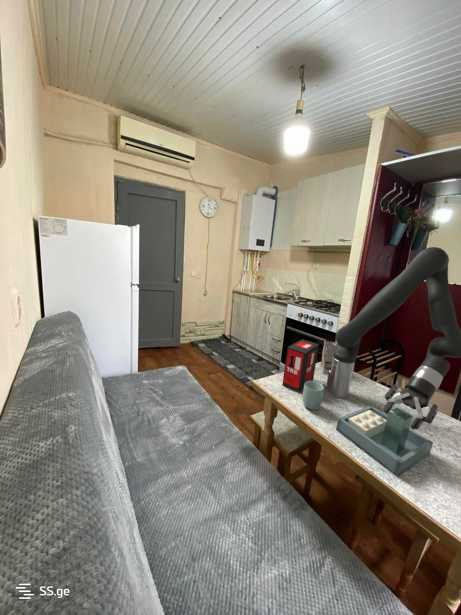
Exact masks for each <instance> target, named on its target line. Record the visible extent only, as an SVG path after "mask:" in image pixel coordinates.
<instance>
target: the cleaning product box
mask: <svg viewBox="0 0 461 615" xmlns="http://www.w3.org/2000/svg"><path fill="white" fill-rule="evenodd" d="M319 347H320V344H319V343H316V342H313V341H309V340H306V339H301V340H298V341H297V342H294V343H293V344H291V345H289V346H288V347H287V349H286V354H285V355H286V356H285V363H284V364H285V365H284V368H283V369H284V370H283V378H282V384H281V386H282V387H285V388H287V389H289V390H290V391H293V392H295V393H296V392H297V394H300V393H301V392H302V391H303V390H304V384H305V382H307V381H314V377H315V372H316V364H317V358H318V355H319V354H318V353H319Z"/></svg>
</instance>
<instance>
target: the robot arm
mask: <svg viewBox="0 0 461 615" xmlns="http://www.w3.org/2000/svg"><path fill="white" fill-rule="evenodd" d="M449 262H450V258H449V255H448V253H447V252H446V251H445V250H444V249H443V248H441V247H437V246H431V247H427V248H424V249H423V250H421V251H419V252H418V253H417V255H416V256H414V258H413V259H412V260H411V262H409V264H408V265H407V266H406V267H405V269H404V270H402V271H401V273H399V275H397V276H396V277H395V278H394V279H392V280H391V281H389V283H388V284H386V285H385V286H384V287H383V288H382V289H381V290H379V291H378V292H377V293H376V294H375V295H374V296H373V297H372V298H371V299H370V300H369V301H368V302H367V303H366V304H365V306H364V307H363V308H362V309H361V310H360V311H359V313H358V314H357V315H356V316H355V317H354V318H353V319H352V320H350V321H349V322H348V323H346V324H345V325H343V326H342V327H340V328H339V329H338V330H337V332H336V333H335V342H336V343H337V347H336V349H335V352H334V356H333V362H332V367H331V370H330V371H329V373H328V374H327V378H326V379H327V380H326V386H325V390H326V391H327V392H328V393H329V394H330V395H331V396H334V397H337V398H343V399H344V398H348V397H349V393H350V387H351V383H352V377H353V373H354V369H355V363H356V359H357V356H358V354H359V349H360V344H361V339H362V337H363V336H365V334H366V333H367V332H368V331H370V330H371V329H372V328H373V327H375V326H377V325H378V324H381V322H382V321H384V320H385V319H386V318H388V317H389V316H391V315H392V314H393V313H394V312H395V311H396V310H397V309H399V308H400V307H401V306H402V305H403V304H404V303H405V302H406V300H407V299H408V298H409V297H410V296H411V294H412V293H413V292H414V290H416V288H418V286H420V285H421V284H422V283H423V282H425V284H426V288H427V294H428V310H429V316H430V317H429V318H430V321H431V327H432V329H433V330H435V331H438V332H441V333H442V334H443V335H444V336H438V337H435V338H434V339H432V340H431V341H430V342H429V345H428V349H427V353H426V356H425V359H424V360H423V362H422V363H421V364H420V366H419V367H418V368H417V369H416V370H415V372H414V373H413V374H412V375H411V377H410V379H409V380H408V382H407V383H406V384H405V386H404V388H402V389H401V388H400V387H397V384H393V385H392V386H391V387H389V389H388V390H387V392H386V393H385V394H384V399H385V401H387V402H386V404H385V405H384V407H383V411H384V412H383V413H384V414H386V415H388V414H389V411H391V410H393V409H392V408H393V407H394V406H395V405H401V404H403V405H404V406H406V407H409V408H410V409H412V410H416V412H417V416H416V417H415V419H414V420H413V422H411V425H410V429H411V430H413V431H415V430H419V428H420V427H421V425H422V423H427V424H429V425H431V424H432V423H433V421H434V420H435V417H436V415H437V413H438V412H439V407H438V405H437V404H436V403H434V404H432V403H431V402H429V401H431V399H432V397H433V396H434V395H435V393H436V391H437V390H438V389H439V388H440V385H441V384H442V381H443V379H444V378H445V376H446V375H447V373H448V372H449V370H450V367H451V364H450V363H449V361H448V360H447V359H445V357H447V358H455V359H456V358H457V359H459V358H461V327H459V325H458V320H457V316H456V311H455V306H454V302H453V297H452V294H451V290H450V284H449ZM396 394H399V395H397V396H395V395H396ZM427 407H428V411H429V412H428V413H427V414H426V416H424V414H423V409H424V408H427Z"/></svg>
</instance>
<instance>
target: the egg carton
mask: <svg viewBox="0 0 461 615" xmlns="http://www.w3.org/2000/svg"><path fill="white" fill-rule="evenodd" d="M386 421H387V420H385V419H383V418H382V417H381V416H379V415H377V414H375V413H374V412H373V411H371V410H368V411H366V412H363V413H361V414H358V415H356V416H353V417H351V418H349V419H348V423H349V424H350V425H352V426H353V427H355V428H356V429H357V430H359V431H360V432H362V433H363V434H364V435H366V436H367V437H369V438H370V437H372V436H374V435H376V434H378V433H380V432H382V431H384V429H385V425H386Z"/></svg>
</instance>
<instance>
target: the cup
mask: <svg viewBox="0 0 461 615" xmlns="http://www.w3.org/2000/svg"><path fill="white" fill-rule="evenodd" d="M302 391H303V392H302V403H303V406H304V407H306V408H307V409H308V410H312V411H313V410H314V411H315V410H318V409H319V408H320V406H321V405H322V402H323V398H324V397H323V396H324V392H325V386H323V384H321V383H320V382H317V381H314V380H313V381H307V382H305V384H304V389H303V390H302Z"/></svg>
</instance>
